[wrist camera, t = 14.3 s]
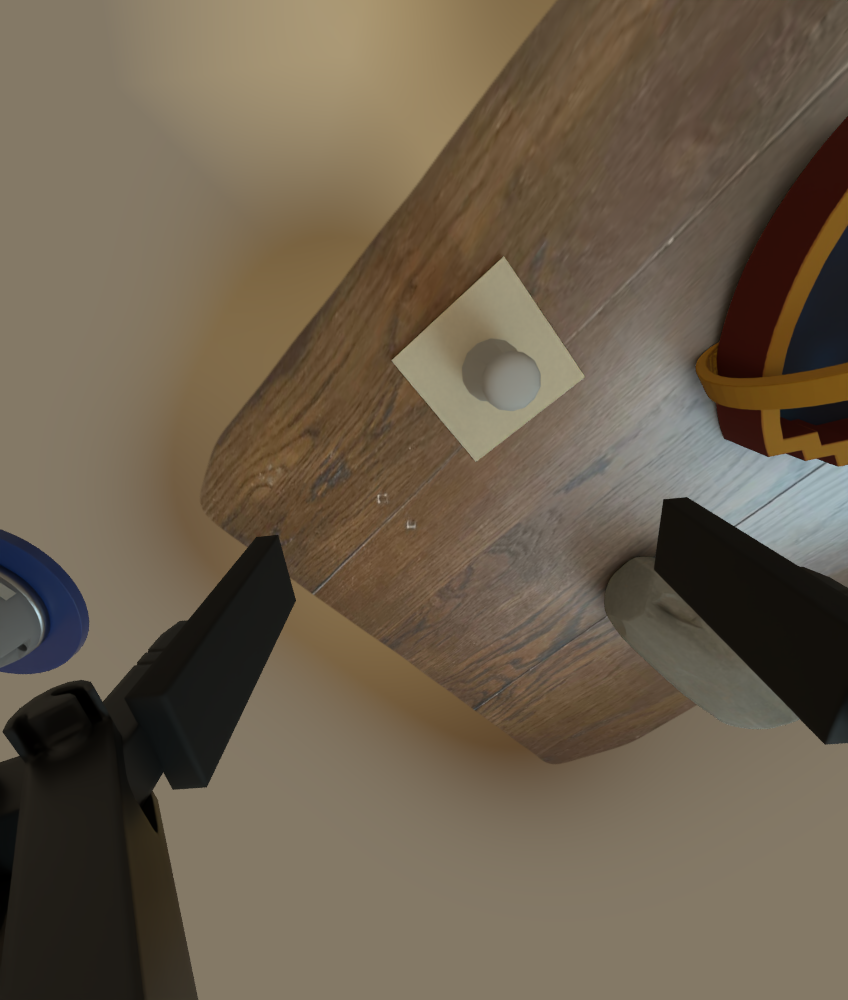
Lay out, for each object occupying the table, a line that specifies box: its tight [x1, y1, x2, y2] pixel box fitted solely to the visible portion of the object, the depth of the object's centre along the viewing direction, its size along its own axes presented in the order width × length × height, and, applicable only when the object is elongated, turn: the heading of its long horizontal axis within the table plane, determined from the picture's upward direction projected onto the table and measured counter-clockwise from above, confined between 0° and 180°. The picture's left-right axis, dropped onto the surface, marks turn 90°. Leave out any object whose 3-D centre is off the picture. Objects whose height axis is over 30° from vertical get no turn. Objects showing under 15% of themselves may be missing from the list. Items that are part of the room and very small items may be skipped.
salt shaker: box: [462, 338, 541, 411], centre depth 34 cm, size 6×6×13 cm
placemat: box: [392, 257, 585, 462], centre depth 41 cm, size 14×14×1 cm
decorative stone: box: [604, 557, 799, 729], centre depth 44 cm, size 12×17×15 cm
